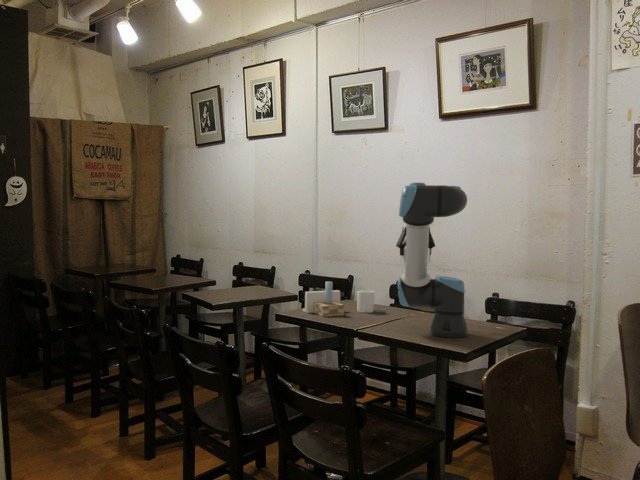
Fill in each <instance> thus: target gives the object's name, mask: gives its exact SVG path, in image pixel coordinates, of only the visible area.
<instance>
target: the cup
mask: <svg viewBox="0 0 640 480" xmlns="http://www.w3.org/2000/svg"><path fill="white" fill-rule="evenodd" d="M356 293H357V296H356V298H357V299H356V301H357V302H356V310H357V311H356V312H357V313H361V314H370V313H374V309H375V291H374V290H368V289H360V290H357V291H356Z"/></svg>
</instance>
